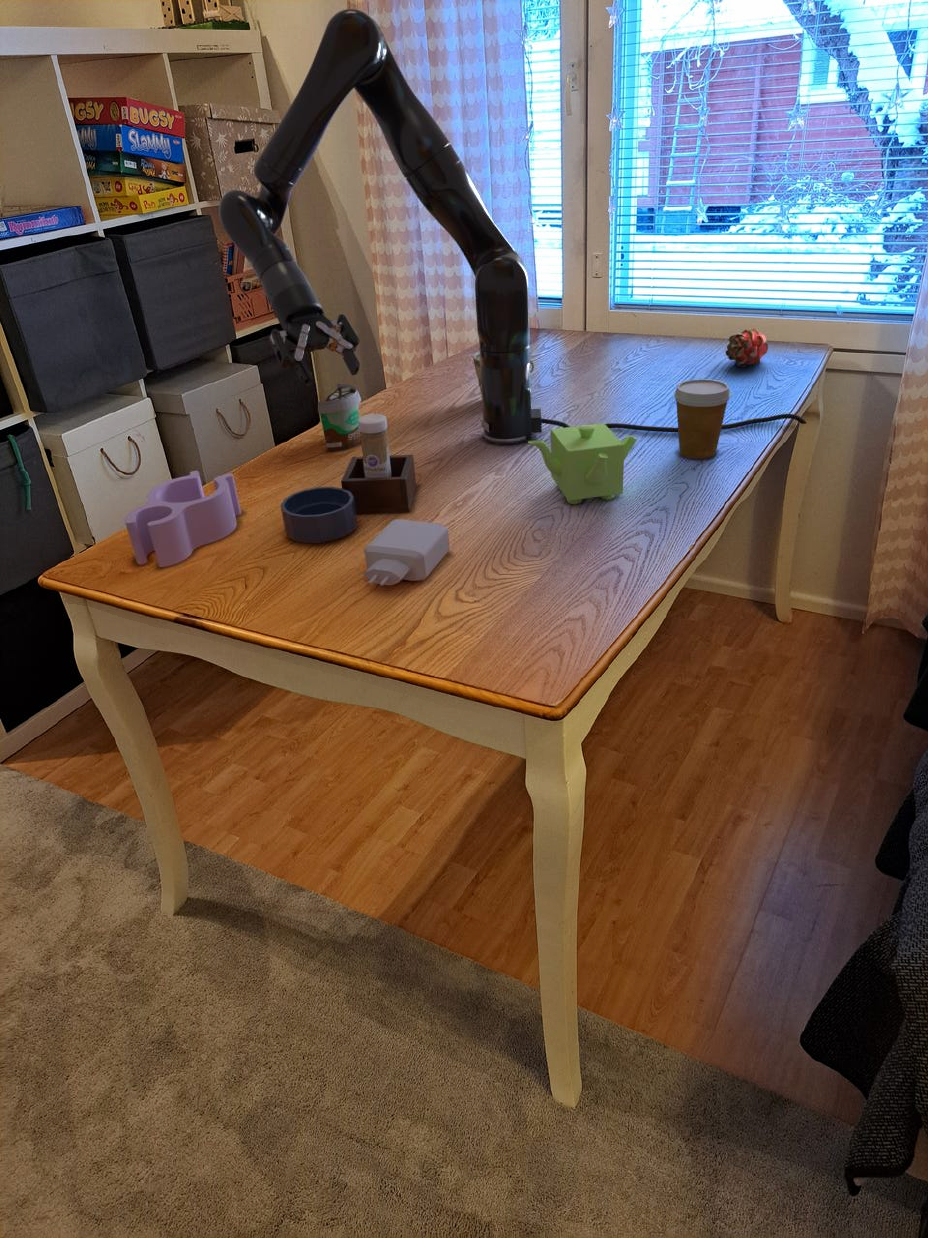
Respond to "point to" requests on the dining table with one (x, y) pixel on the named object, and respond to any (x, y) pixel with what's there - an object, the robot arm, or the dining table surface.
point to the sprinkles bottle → (375, 445)
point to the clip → (182, 518)
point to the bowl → (319, 514)
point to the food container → (341, 418)
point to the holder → (382, 486)
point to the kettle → (586, 461)
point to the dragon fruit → (747, 347)
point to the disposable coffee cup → (700, 416)
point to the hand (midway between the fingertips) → (334, 377)
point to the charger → (405, 551)
